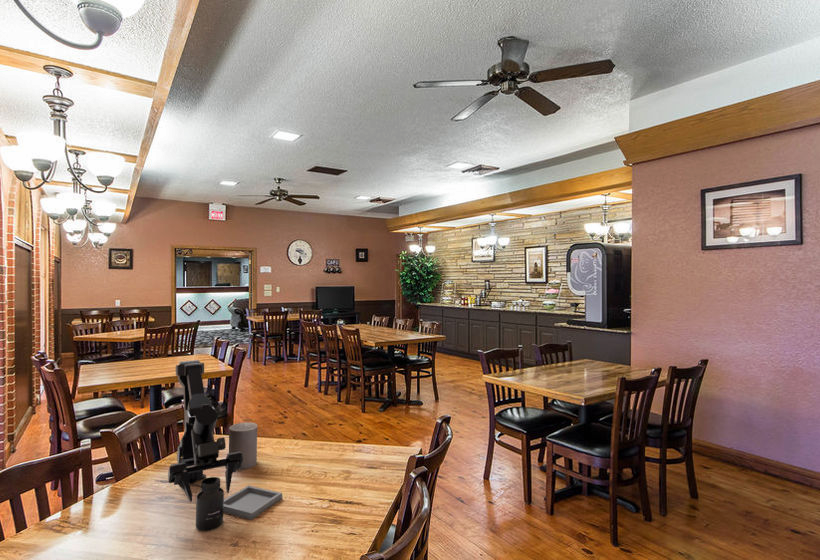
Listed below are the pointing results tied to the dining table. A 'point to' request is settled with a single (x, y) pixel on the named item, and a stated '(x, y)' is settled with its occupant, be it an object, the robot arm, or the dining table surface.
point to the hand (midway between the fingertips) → (210, 496)
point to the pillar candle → (244, 443)
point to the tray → (250, 502)
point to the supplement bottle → (209, 505)
